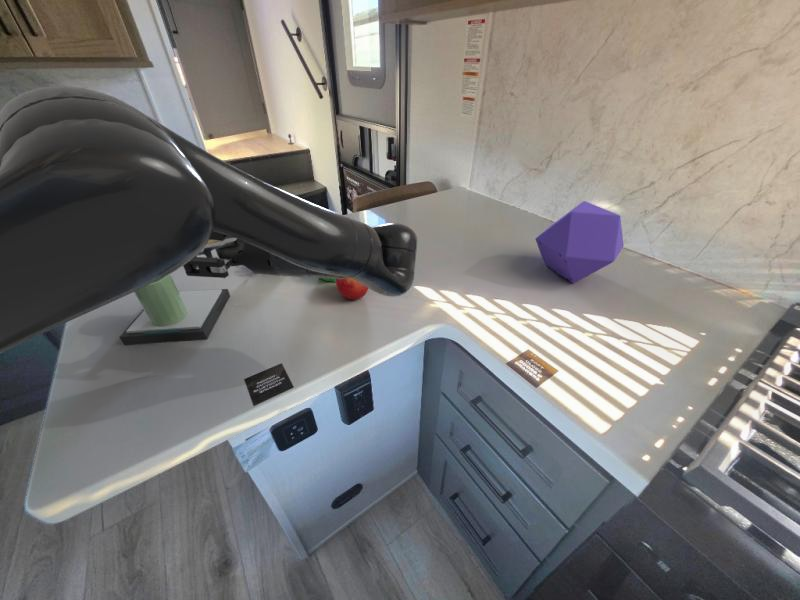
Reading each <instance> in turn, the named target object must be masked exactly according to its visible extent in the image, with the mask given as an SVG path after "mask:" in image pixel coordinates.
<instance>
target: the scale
mask: <svg viewBox="0 0 800 600" xmlns="http://www.w3.org/2000/svg"><path fill="white" fill-rule="evenodd" d="M178 292H179V294H180V296H181V298H182V300H183V303H184V305H185V307H186V310H187V315H186V317H185V318H184V319H182V320H181V321H179V322H177V323H175V324H172V325H169V326H163V327H159V326H155V325H153V324H152V322H151V321H150V320H149V318H148V316H147V314H146V313H145V311H144V309H143V308H142V310H141V311H140V312H139V313H138V315H137V316H136V317H135V318H134V319H133V321H132V322H131V323H130V324H129V325H128V326H127V328H126V329H125V330H124V331H123V332H122V333H121V334H120V336H119V339H120V341H121V342H122V344H123V345H124V346H130V345H143V344H157V343H158V344H159V343H173V342H188V341H202V340H208V338H209V336H210V335H211V333H212V331H213V329H214V327H215V325H216V324H217V322H218V320H219V318H220V317H221V314H222V312H223V310H224V309H225V307H226V305H227V303H228V301H229V299H230V298H231V294H230V292H229V289H228V288H217V289H201V290H199V289H198V290H182V291H181V290H180V291H179V290H178Z"/></svg>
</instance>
